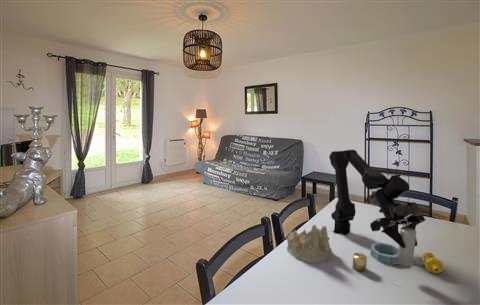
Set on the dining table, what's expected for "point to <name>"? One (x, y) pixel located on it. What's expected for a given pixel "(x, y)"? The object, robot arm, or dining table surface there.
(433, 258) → the pressure relief valve
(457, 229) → the dining table surface
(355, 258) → the short brass cylinder
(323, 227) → the jagged beige rock
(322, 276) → the dining table surface
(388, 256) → the collar
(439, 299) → the dining table surface
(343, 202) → the robot arm
